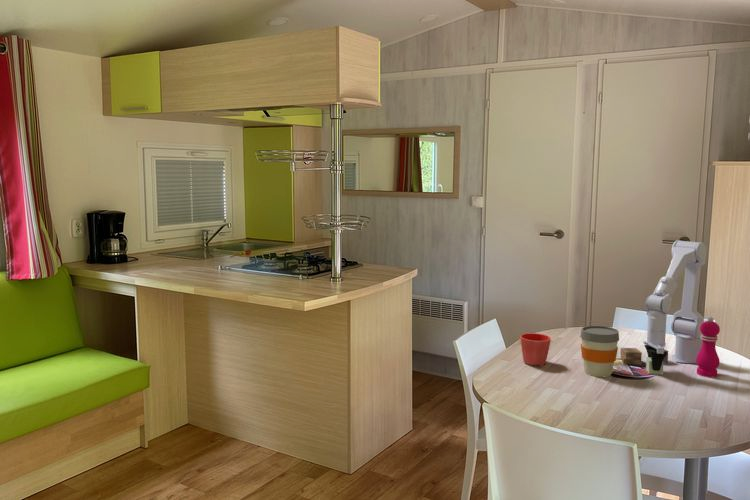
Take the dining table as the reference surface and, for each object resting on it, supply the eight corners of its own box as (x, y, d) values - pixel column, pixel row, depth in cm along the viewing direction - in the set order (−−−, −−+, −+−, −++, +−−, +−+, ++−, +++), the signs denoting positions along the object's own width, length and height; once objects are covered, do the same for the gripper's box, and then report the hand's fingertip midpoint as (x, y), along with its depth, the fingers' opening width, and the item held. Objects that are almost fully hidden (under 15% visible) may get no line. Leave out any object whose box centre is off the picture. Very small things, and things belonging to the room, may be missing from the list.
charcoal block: (659, 359, 234) (660, 347, 234) (667, 363, 230) (668, 350, 229) (648, 360, 233) (649, 348, 233) (656, 363, 229) (657, 351, 228)
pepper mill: (721, 378, 213) (725, 319, 210) (698, 376, 215) (702, 319, 212) (714, 371, 220) (718, 314, 217) (692, 370, 222) (695, 314, 219)
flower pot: (547, 358, 236) (547, 333, 234) (552, 367, 225) (553, 341, 224) (517, 357, 237) (518, 332, 235) (521, 367, 226) (522, 340, 225)
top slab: (635, 354, 233) (635, 348, 233) (641, 359, 228) (641, 352, 227) (620, 354, 233) (620, 348, 233) (625, 359, 228) (626, 352, 227)
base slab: (637, 361, 233) (638, 354, 233) (641, 366, 227) (641, 359, 227) (620, 360, 234) (620, 354, 234) (623, 365, 228) (623, 358, 228)
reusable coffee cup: (575, 375, 217) (577, 332, 215) (582, 364, 228) (584, 323, 226) (614, 380, 211) (616, 336, 209) (619, 369, 222) (621, 328, 220)
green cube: (659, 370, 221) (660, 357, 221) (662, 374, 217) (663, 361, 217) (645, 369, 222) (646, 357, 222) (648, 373, 218) (649, 361, 217)
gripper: (639, 323, 226) (638, 361, 227) (648, 334, 212) (646, 374, 213) (661, 324, 224) (659, 362, 226) (671, 335, 210) (669, 375, 212)
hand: (654, 368), depth 220 cm, fingers closed on green cube, 4 cm apart
